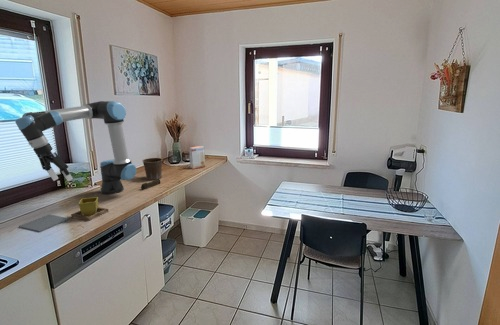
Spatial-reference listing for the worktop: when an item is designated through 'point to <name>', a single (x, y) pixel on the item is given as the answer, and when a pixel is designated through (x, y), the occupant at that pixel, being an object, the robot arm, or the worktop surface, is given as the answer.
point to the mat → (44, 223)
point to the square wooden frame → (78, 216)
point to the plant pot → (153, 168)
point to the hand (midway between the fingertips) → (63, 179)
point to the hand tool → (150, 184)
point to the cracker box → (197, 157)
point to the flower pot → (88, 206)
